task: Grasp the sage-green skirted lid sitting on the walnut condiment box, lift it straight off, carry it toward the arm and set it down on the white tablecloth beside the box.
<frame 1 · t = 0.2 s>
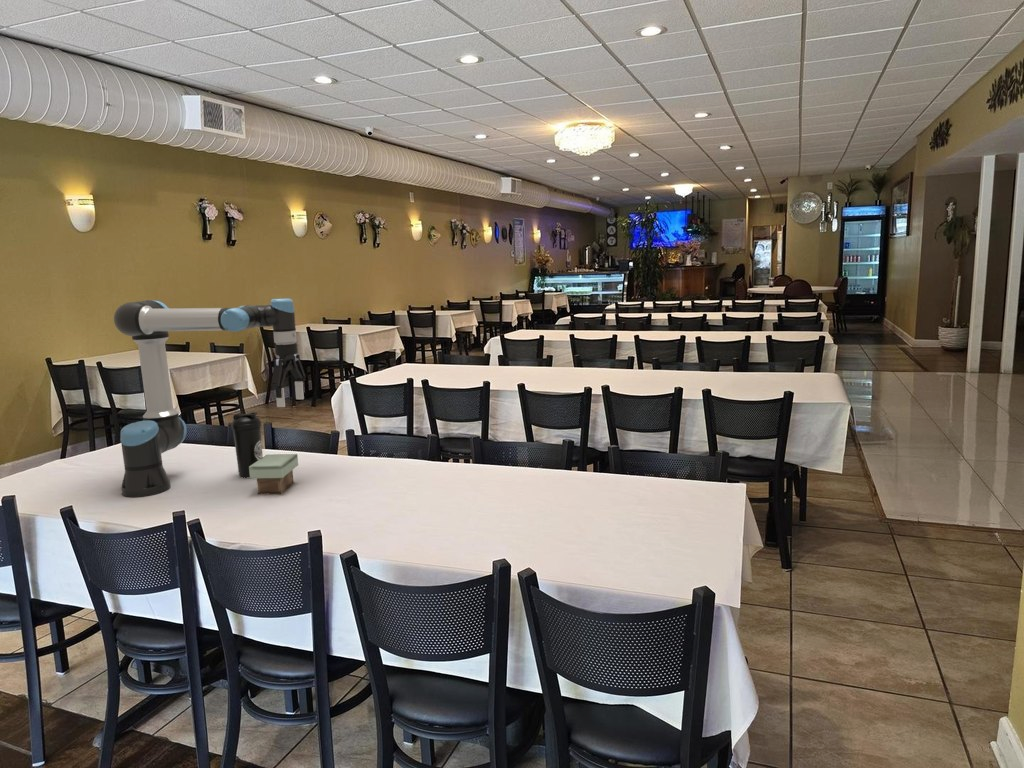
hand: (290, 403, 252), 27 cm above the table, fingers open, 13 cm apart
water bottle: (251, 475, 262), on the table
lid: (274, 471, 243), point 6 cm above the table, touching box
box: (276, 488, 244), on the table
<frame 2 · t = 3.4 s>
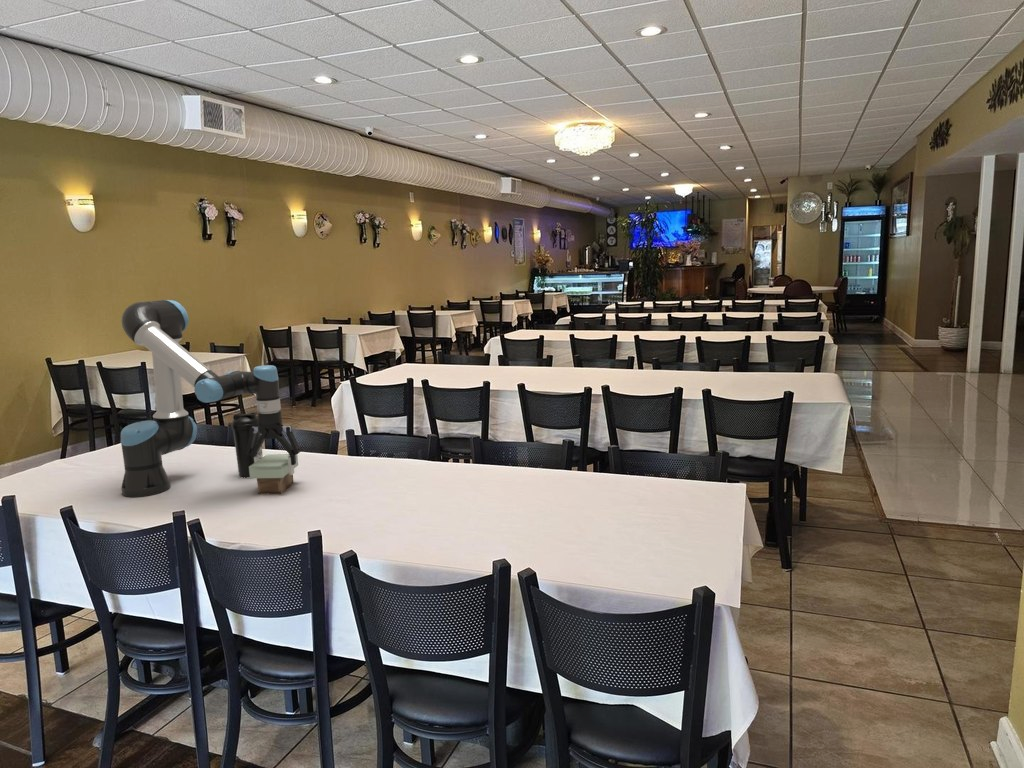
hand: (275, 474, 243), 5 cm above the table, fingers closed on lid, 11 cm apart
lid: (274, 471, 243), point 6 cm above the table, touching box, gripper
everything else where it was.
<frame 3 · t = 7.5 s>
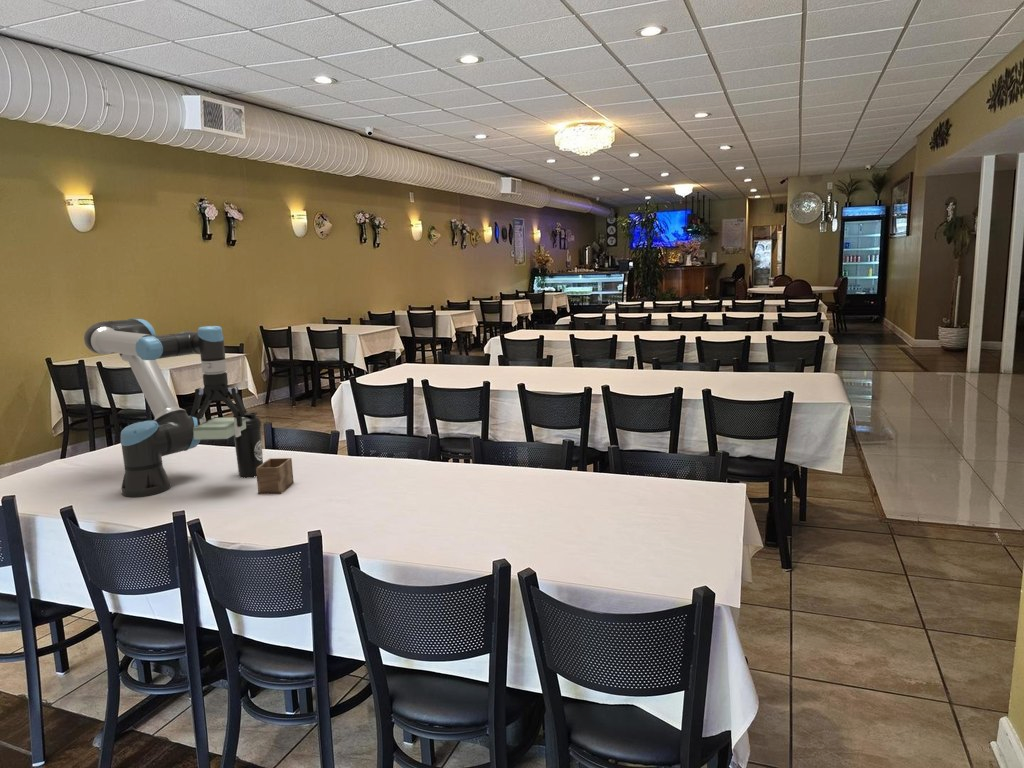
hand: (221, 436, 241), 19 cm above the table, fingers closed on lid, 11 cm apart
lid: (221, 433, 241), point 20 cm above the table, touching gripper
everything else where it was.
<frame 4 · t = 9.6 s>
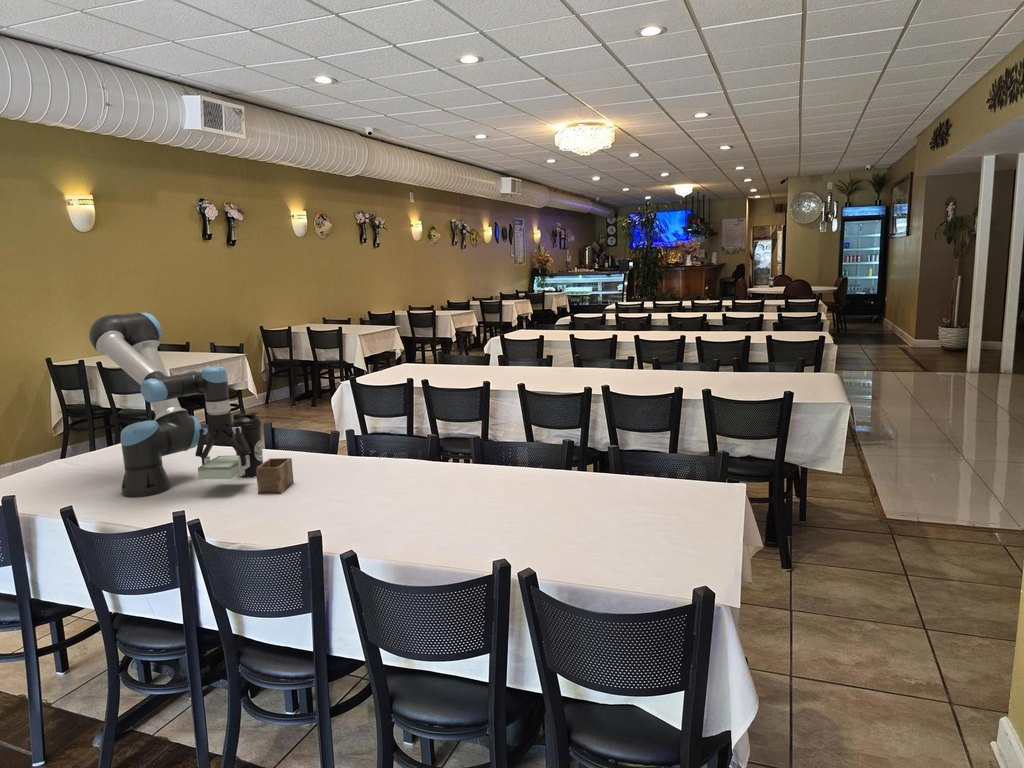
hand: (225, 475, 243), 5 cm above the table, fingers closed on lid, 11 cm apart
lid: (225, 472, 243), point 6 cm above the table, touching gripper
everything else where it was.
when the fingers open (1 cm above the table, at t = 11.6 s): lid drops 2 cm, on the table.
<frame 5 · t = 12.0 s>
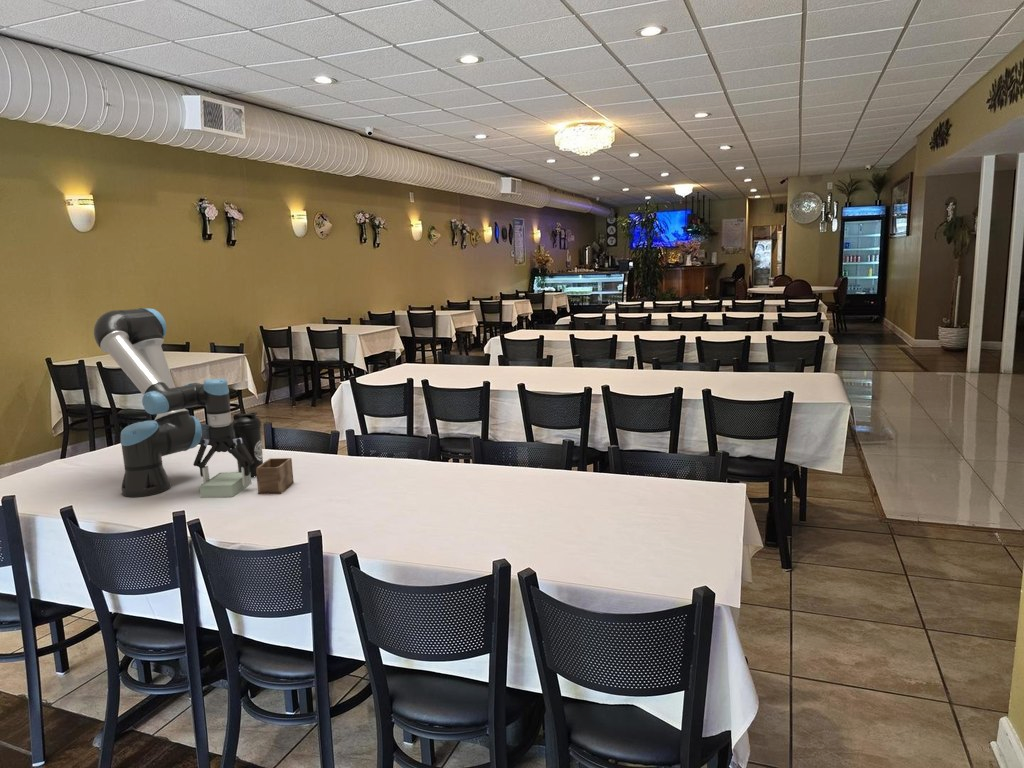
hand: (226, 485, 244), 2 cm above the table, fingers open, 13 cm apart
lid: (226, 490, 244), on the table
everything else where it was.
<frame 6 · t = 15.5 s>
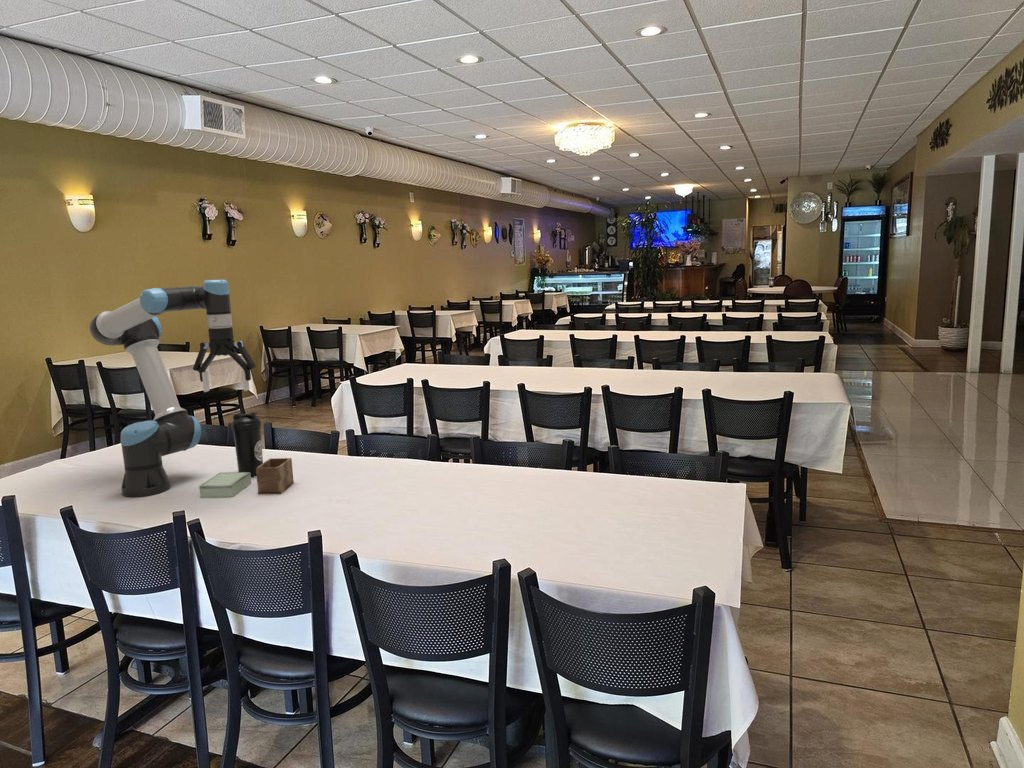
hand: (226, 390, 237), 35 cm above the table, fingers open, 13 cm apart
nothing on the table moved.
at the end: lid inside the target area (0.0 cm from its centre), on the table; lid tilted 0°; lid touching table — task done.
